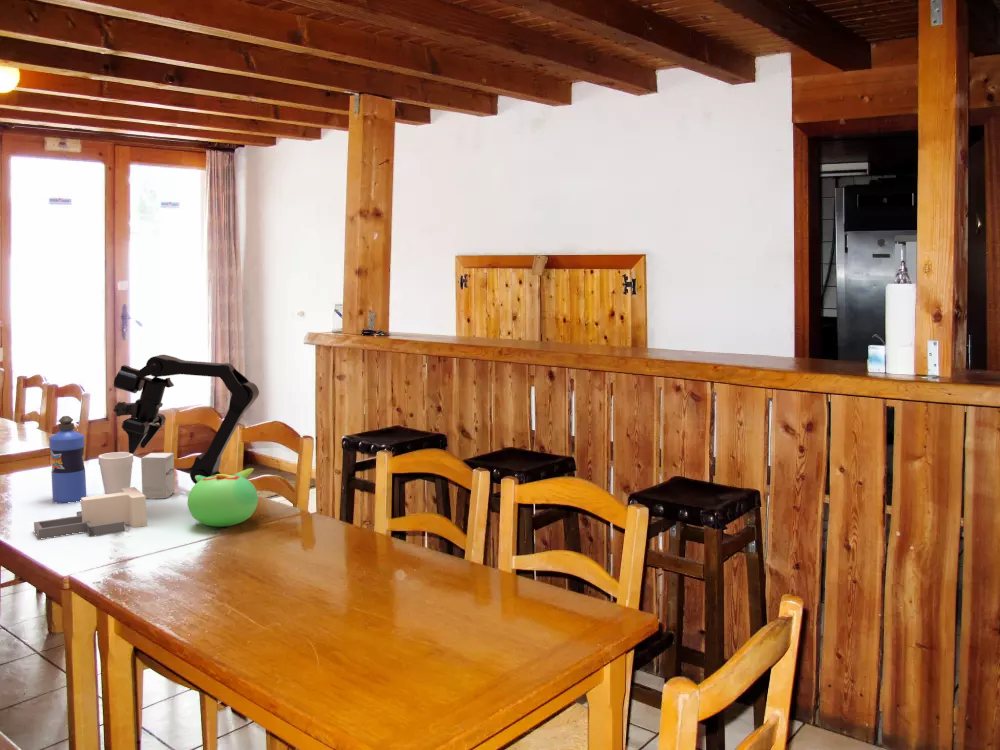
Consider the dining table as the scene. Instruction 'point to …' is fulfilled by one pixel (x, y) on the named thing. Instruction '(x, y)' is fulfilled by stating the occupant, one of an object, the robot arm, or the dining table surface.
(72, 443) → the water bottle
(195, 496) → the green rounded blob
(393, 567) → the dining table surface
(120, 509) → the t block
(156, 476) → the supplement box
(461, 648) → the dining table surface
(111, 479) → the foam cup
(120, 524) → the t outline
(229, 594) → the dining table surface
